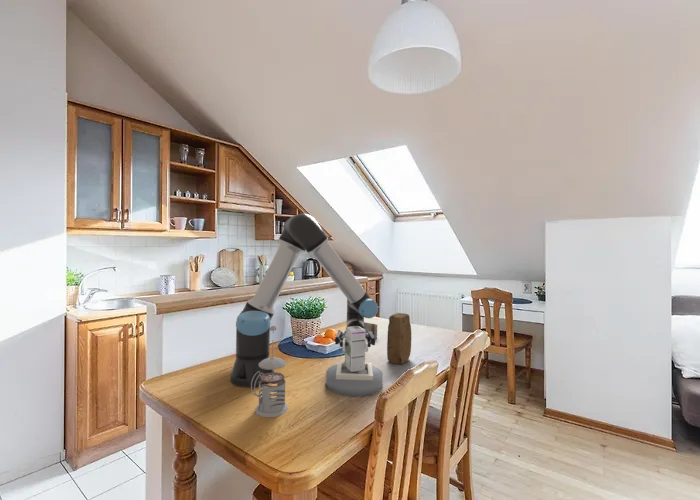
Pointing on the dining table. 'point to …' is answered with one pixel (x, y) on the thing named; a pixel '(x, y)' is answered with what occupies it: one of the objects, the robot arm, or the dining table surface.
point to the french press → (271, 388)
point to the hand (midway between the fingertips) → (355, 347)
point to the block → (399, 338)
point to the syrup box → (355, 348)
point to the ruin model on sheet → (371, 328)
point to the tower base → (354, 380)
